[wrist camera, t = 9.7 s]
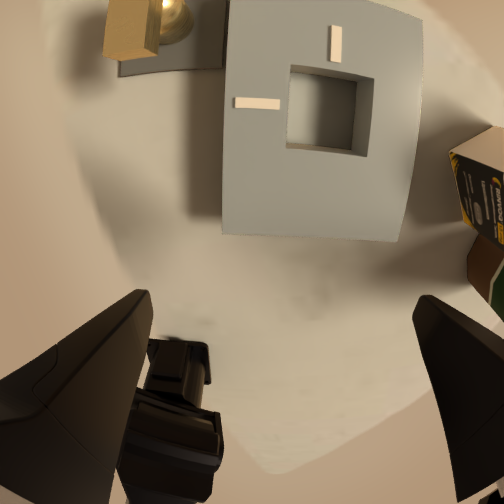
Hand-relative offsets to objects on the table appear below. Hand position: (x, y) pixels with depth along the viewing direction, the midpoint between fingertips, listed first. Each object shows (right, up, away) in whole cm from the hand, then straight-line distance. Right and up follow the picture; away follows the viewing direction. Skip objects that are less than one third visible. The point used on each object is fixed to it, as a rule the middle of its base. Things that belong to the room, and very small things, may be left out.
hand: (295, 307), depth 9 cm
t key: (-7, +17, +5) cm, 18 cm away
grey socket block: (+3, +11, +8) cm, 14 cm away
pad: (-7, +17, +5) cm, 19 cm away
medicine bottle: (+19, +9, +10) cm, 23 cm away
